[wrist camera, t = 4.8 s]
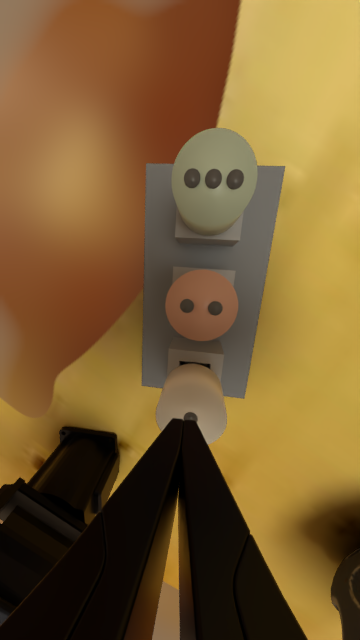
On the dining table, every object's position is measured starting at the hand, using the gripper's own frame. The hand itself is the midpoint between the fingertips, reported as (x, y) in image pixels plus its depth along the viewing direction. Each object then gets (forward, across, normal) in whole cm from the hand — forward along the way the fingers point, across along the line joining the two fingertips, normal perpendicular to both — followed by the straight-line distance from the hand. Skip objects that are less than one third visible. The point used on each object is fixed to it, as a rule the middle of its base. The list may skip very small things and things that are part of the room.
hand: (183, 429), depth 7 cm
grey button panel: (+11, 0, -4) cm, 12 cm away
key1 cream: (+8, 0, +2) cm, 8 cm away
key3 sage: (+8, -1, -9) cm, 13 cm away
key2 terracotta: (+9, 0, -4) cm, 9 cm away
